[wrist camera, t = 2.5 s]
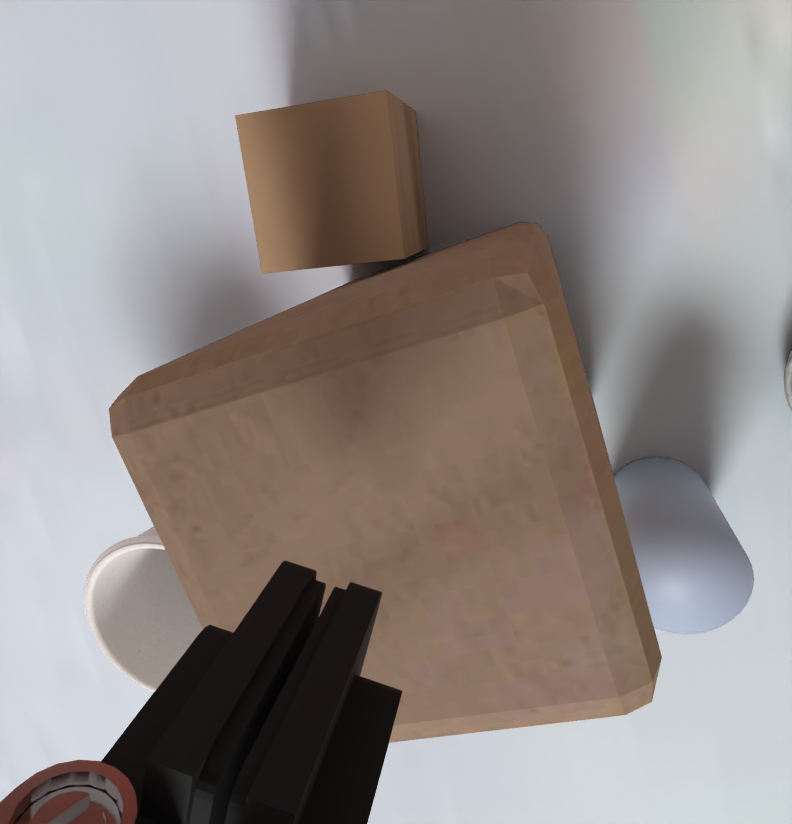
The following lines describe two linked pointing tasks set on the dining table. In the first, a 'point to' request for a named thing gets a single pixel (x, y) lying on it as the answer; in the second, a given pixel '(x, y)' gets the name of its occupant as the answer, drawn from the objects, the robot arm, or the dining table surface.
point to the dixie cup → (139, 609)
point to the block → (412, 485)
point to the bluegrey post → (682, 547)
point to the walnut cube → (334, 182)
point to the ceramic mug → (788, 380)
